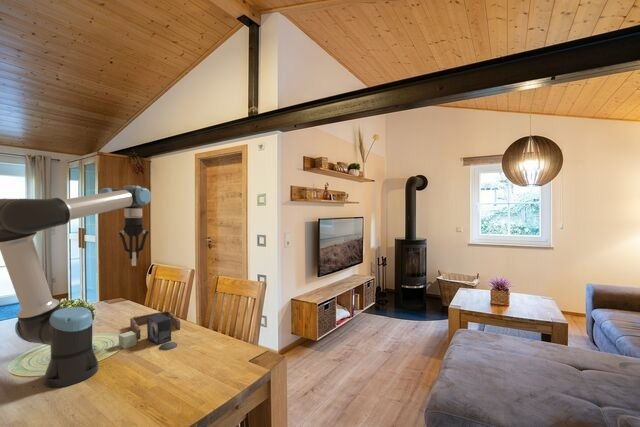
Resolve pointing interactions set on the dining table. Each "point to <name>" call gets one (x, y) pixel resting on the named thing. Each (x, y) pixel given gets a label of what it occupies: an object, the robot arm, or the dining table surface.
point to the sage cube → (127, 339)
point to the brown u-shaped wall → (142, 320)
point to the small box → (159, 329)
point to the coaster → (168, 346)
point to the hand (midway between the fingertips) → (133, 265)
